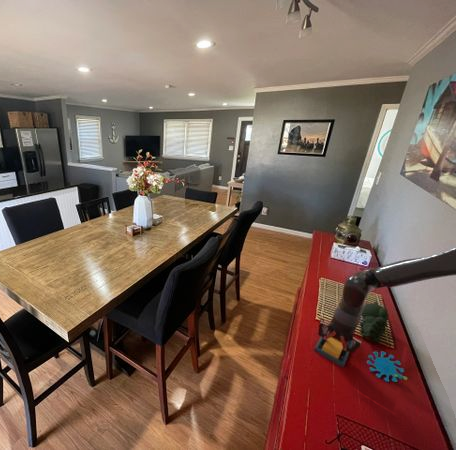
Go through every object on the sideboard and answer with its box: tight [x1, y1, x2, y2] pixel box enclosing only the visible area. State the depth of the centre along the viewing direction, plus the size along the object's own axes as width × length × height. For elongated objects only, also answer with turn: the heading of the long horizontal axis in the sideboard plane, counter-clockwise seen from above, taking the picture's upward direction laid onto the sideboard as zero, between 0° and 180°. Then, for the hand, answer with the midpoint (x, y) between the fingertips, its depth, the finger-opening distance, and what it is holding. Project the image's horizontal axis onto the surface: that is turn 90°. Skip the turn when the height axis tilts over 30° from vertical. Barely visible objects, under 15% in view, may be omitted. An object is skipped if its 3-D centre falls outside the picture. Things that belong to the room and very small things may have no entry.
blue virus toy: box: [366, 350, 408, 383], centre depth 90 cm, size 11×6×10 cm
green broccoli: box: [359, 301, 389, 344], centre depth 106 cm, size 9×19×25 cm
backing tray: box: [313, 327, 353, 368], centre depth 101 cm, size 10×19×2 cm, turn 132°
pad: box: [322, 338, 343, 359], centre depth 98 cm, size 6×8×3 cm
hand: (331, 350), depth 98 cm, fingers closed on pad, 5 cm apart
